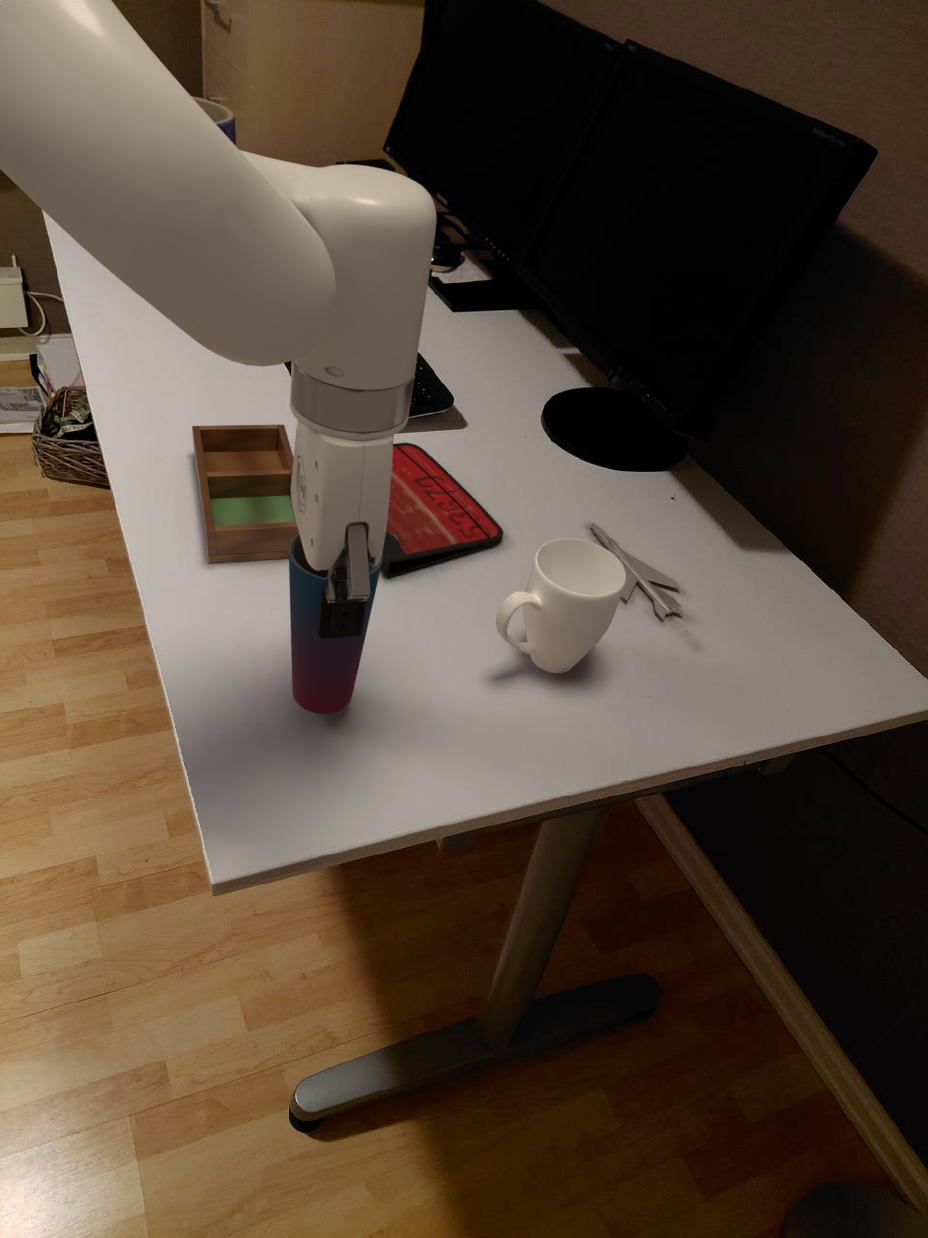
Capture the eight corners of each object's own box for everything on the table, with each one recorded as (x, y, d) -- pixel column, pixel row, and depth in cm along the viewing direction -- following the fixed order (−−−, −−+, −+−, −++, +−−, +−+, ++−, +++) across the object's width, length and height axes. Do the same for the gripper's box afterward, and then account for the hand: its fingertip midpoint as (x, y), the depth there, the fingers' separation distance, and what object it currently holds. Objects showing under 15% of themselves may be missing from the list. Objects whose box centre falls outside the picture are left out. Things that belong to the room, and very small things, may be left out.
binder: (388, 561, 84) (295, 455, 96) (385, 579, 86) (294, 472, 98) (513, 531, 93) (414, 436, 105) (508, 547, 94) (411, 452, 106)
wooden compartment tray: (208, 563, 84) (206, 531, 81) (194, 456, 97) (192, 425, 94) (311, 556, 87) (312, 525, 84) (283, 453, 100) (284, 424, 98)
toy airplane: (616, 522, 100) (622, 506, 99) (725, 640, 87) (733, 624, 86) (562, 531, 97) (566, 514, 96) (665, 655, 84) (673, 638, 82)
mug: (560, 619, 86) (588, 528, 78) (611, 674, 81) (646, 583, 73) (461, 652, 80) (481, 558, 72) (509, 713, 75) (536, 618, 67)
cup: (369, 671, 74) (389, 533, 64) (354, 729, 69) (374, 589, 59) (292, 656, 73) (301, 515, 64) (271, 713, 68) (277, 570, 59)
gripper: (272, 327, 58) (266, 538, 69) (315, 465, 46) (299, 691, 57) (379, 331, 60) (356, 534, 72) (446, 464, 48) (405, 681, 60)
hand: (331, 602), depth 65 cm, fingers closed on cup, 6 cm apart
